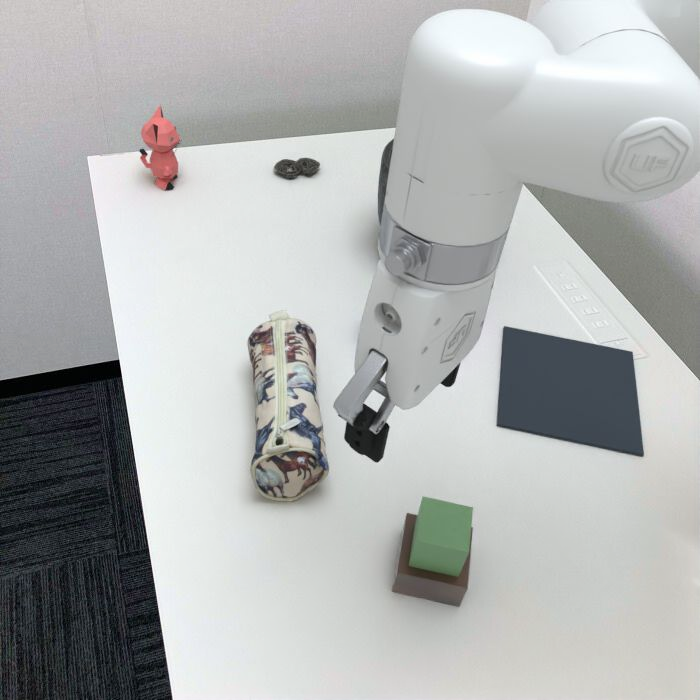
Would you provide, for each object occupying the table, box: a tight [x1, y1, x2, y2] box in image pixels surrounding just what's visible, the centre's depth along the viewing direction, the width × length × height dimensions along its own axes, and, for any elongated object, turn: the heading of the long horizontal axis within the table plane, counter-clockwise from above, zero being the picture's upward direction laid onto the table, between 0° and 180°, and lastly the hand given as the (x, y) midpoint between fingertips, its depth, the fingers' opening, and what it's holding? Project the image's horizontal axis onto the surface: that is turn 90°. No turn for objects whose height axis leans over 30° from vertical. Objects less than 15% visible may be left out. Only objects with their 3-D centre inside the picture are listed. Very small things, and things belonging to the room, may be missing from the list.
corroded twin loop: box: [273, 157, 321, 179], centre depth 126 cm, size 5×8×1 cm, turn 108°
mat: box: [496, 325, 645, 458], centre depth 97 cm, size 18×18×1 cm
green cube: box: [409, 496, 474, 577], centre depth 72 cm, size 5×5×5 cm
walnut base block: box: [391, 512, 474, 608], centre depth 76 cm, size 7×7×4 cm
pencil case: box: [246, 309, 330, 502], centre depth 85 cm, size 22×8×10 cm, turn 6°
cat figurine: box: [138, 103, 183, 191], centre depth 116 cm, size 7×7×12 cm
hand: (401, 411), depth 57 cm, fingers open, 9 cm apart
